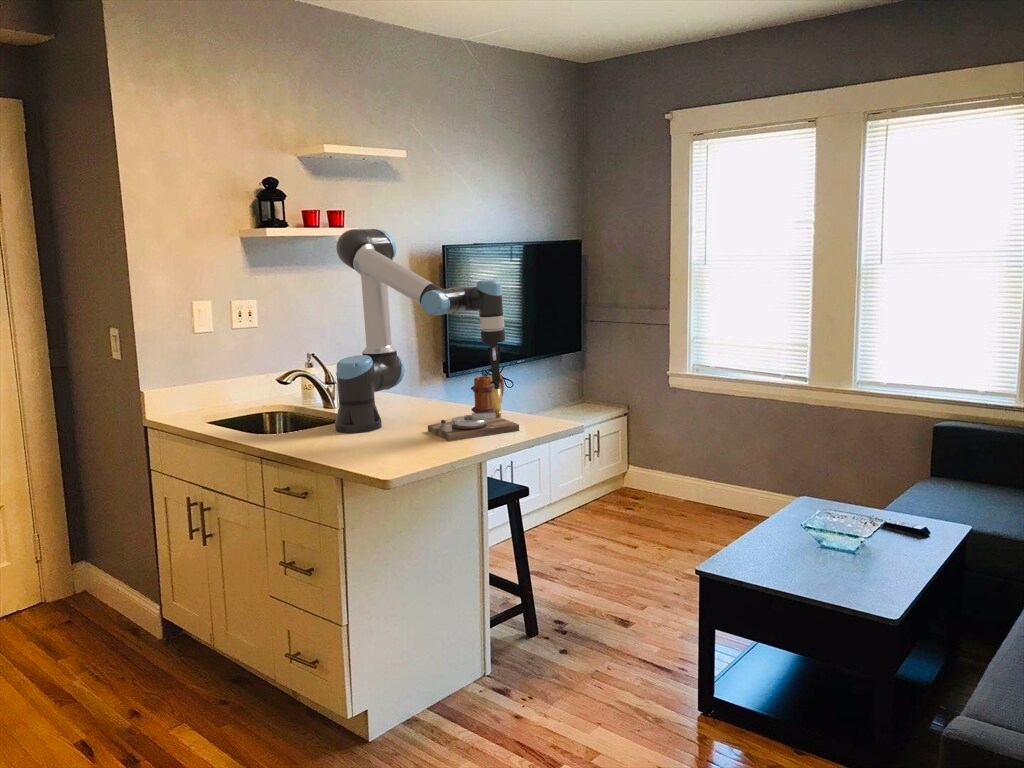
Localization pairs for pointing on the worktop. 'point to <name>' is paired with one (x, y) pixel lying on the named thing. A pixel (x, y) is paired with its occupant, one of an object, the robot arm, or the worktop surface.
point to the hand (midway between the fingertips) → (498, 402)
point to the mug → (484, 394)
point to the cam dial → (479, 415)
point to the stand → (491, 428)
